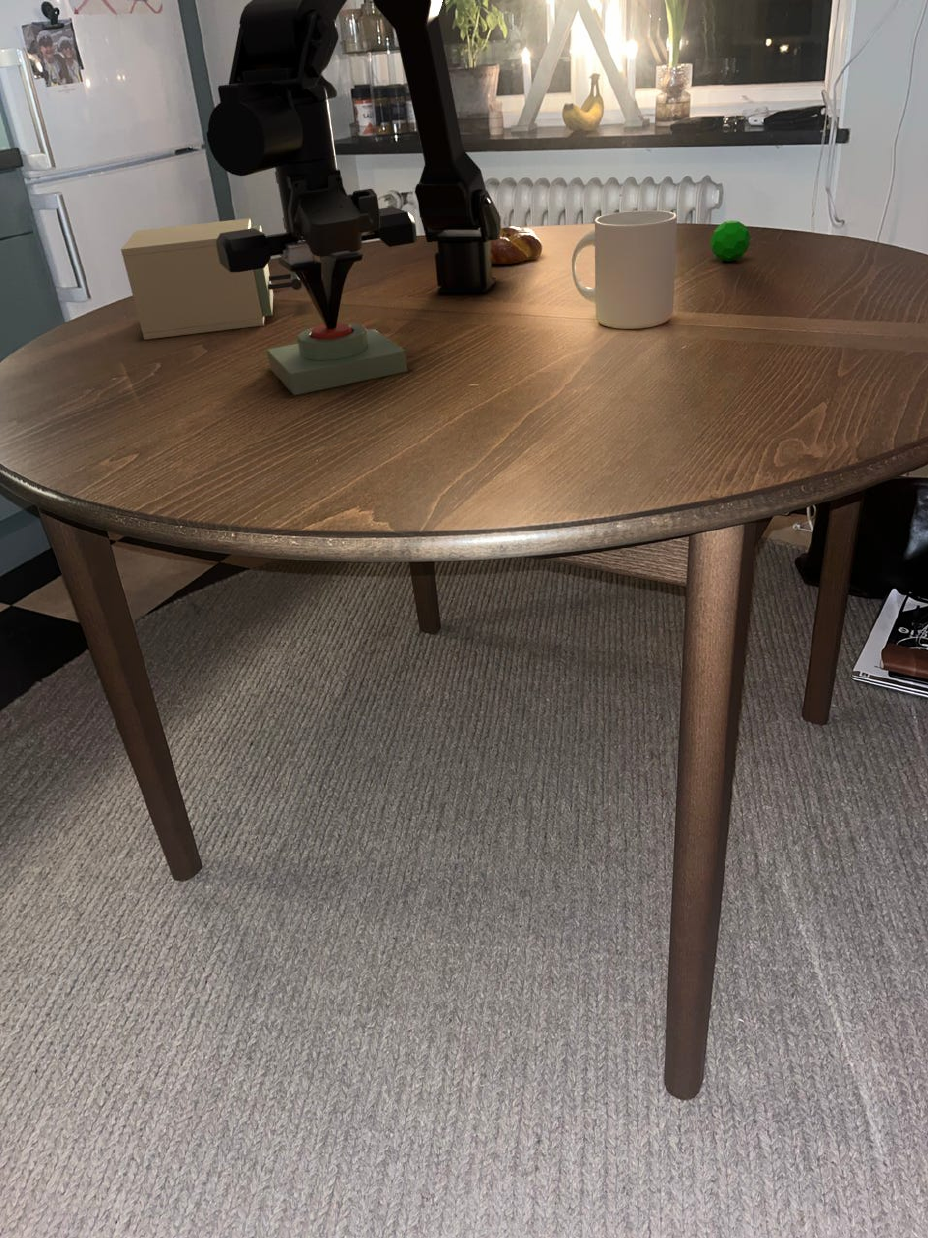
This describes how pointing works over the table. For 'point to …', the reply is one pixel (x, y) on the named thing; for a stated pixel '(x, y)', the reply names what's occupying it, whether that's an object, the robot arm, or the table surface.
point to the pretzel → (515, 246)
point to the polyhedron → (730, 240)
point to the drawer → (272, 285)
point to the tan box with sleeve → (188, 281)
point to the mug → (631, 268)
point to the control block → (336, 360)
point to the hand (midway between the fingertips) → (331, 327)
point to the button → (331, 331)
